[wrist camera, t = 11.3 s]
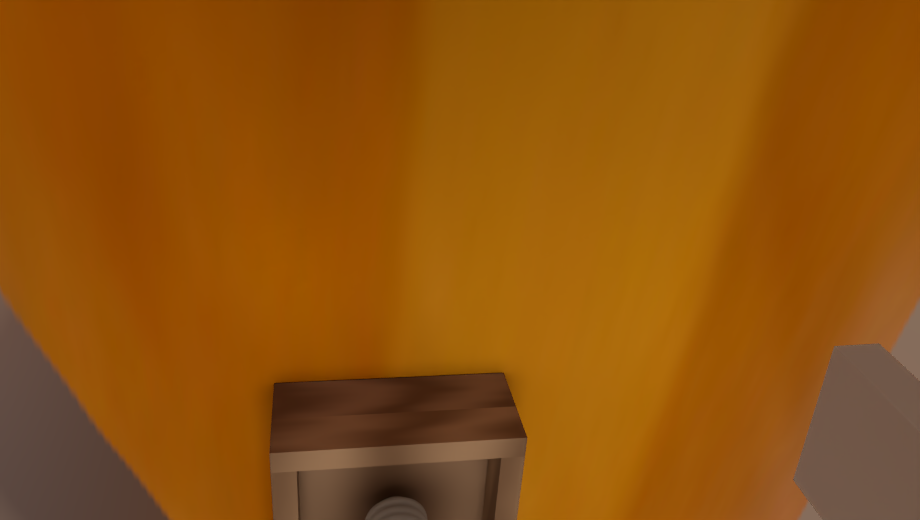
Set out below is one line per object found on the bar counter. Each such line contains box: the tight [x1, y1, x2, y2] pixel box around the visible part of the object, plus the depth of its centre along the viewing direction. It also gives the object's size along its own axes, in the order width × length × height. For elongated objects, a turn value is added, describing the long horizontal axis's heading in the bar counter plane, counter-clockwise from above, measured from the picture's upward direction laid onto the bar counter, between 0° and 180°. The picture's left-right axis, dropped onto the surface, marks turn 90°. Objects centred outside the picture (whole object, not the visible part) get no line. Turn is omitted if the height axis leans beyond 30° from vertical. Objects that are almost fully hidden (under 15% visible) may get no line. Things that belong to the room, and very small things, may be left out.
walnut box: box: [270, 373, 527, 520], centre depth 44 cm, size 12×12×6 cm
